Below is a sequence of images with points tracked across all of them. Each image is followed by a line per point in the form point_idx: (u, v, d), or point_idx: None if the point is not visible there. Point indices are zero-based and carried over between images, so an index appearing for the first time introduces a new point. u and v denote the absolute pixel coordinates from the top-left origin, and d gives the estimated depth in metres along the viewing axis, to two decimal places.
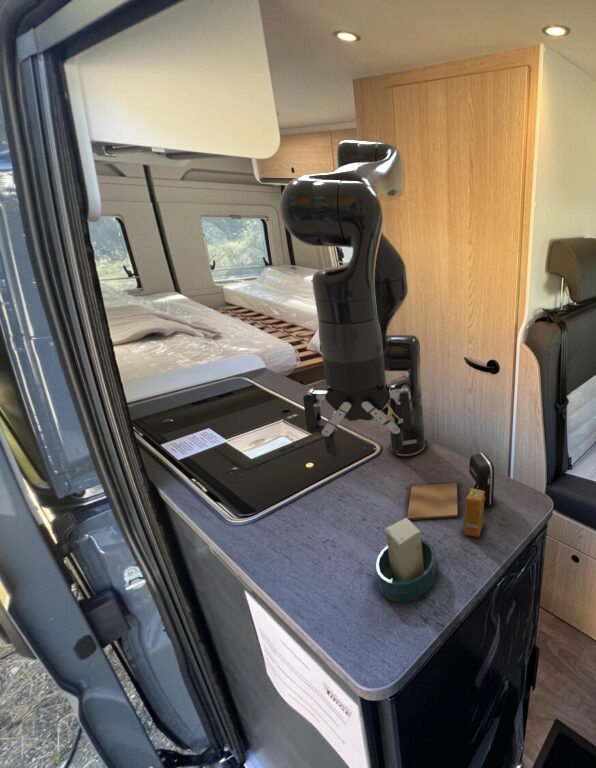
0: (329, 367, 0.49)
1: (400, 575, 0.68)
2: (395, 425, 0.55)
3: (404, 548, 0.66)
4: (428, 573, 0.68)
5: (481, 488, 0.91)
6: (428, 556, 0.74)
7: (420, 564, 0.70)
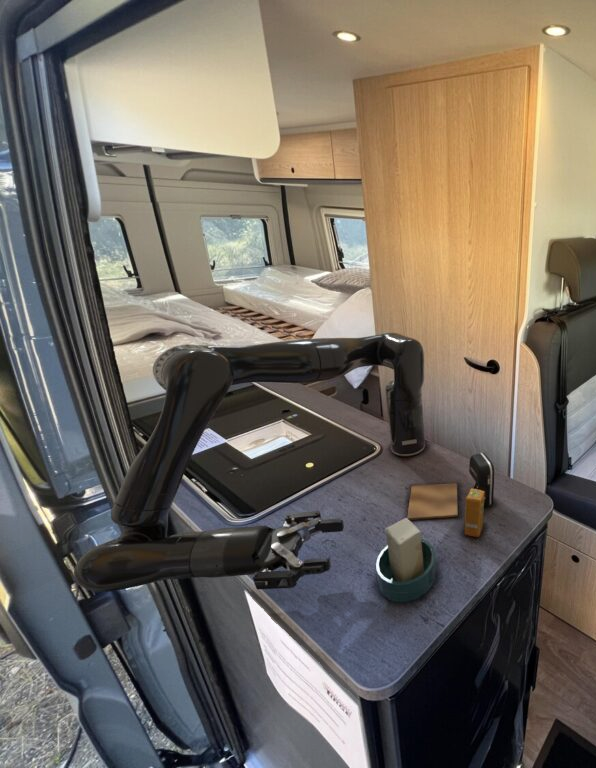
0: None
1: (400, 575, 0.68)
2: None
3: (404, 548, 0.66)
4: (428, 573, 0.68)
5: (481, 488, 0.91)
6: (428, 556, 0.74)
7: (420, 564, 0.70)
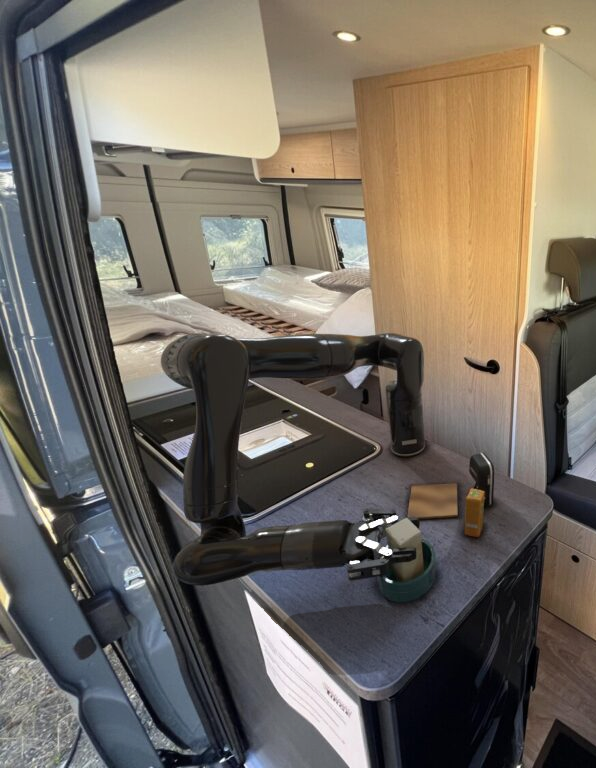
0: None
1: (400, 575, 0.68)
2: None
3: None
4: (428, 573, 0.68)
5: (481, 488, 0.91)
6: (428, 556, 0.74)
7: (420, 564, 0.70)
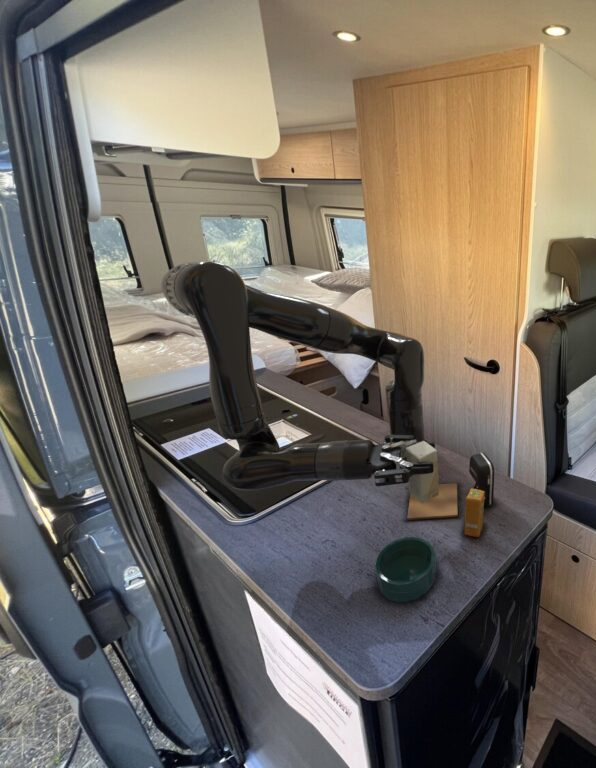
0: None
1: (419, 489, 0.77)
2: None
3: None
4: (428, 573, 0.68)
5: (481, 488, 0.91)
6: (428, 556, 0.74)
7: (436, 482, 0.78)
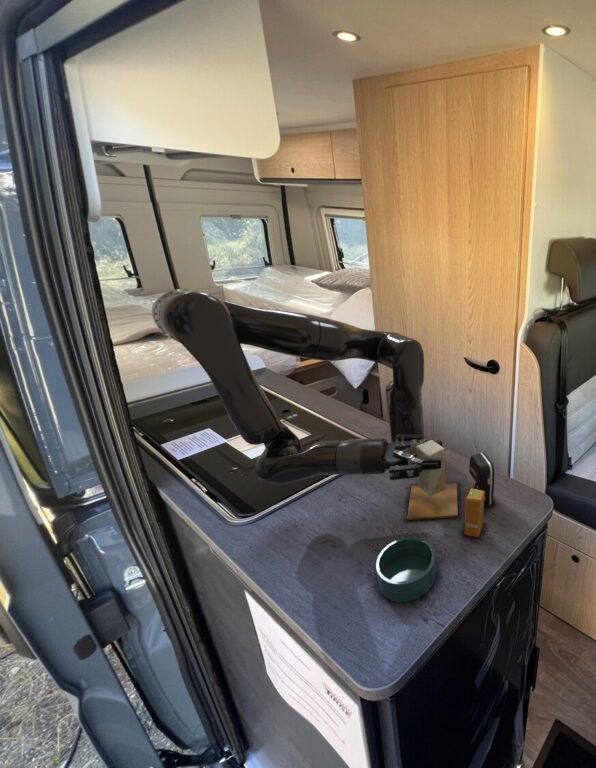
0: None
1: (427, 484, 0.85)
2: None
3: None
4: (428, 573, 0.68)
5: (481, 488, 0.91)
6: (428, 556, 0.74)
7: (443, 477, 0.87)
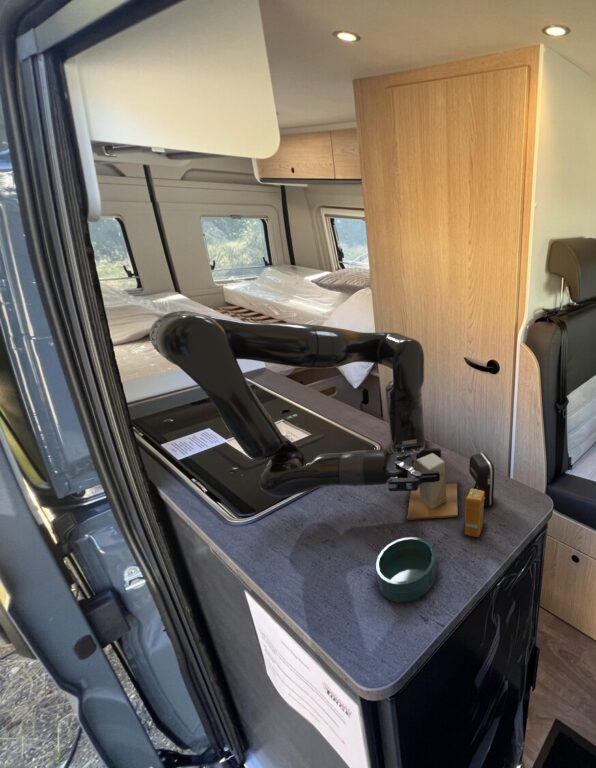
0: None
1: (428, 496, 0.87)
2: None
3: None
4: (428, 573, 0.68)
5: (481, 488, 0.91)
6: (428, 556, 0.74)
7: (443, 489, 0.88)
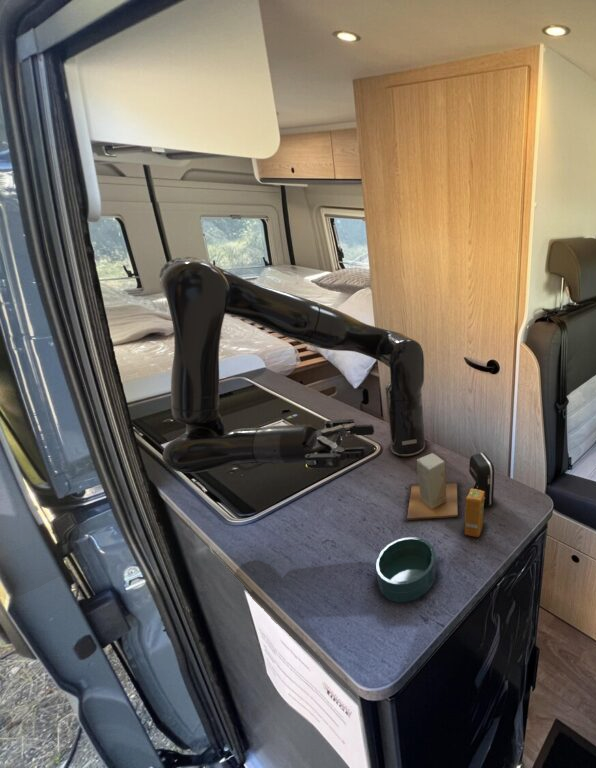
0: None
1: (428, 496, 0.87)
2: None
3: (432, 473, 0.84)
4: (428, 573, 0.68)
5: (481, 488, 0.91)
6: (428, 556, 0.74)
7: (443, 489, 0.88)
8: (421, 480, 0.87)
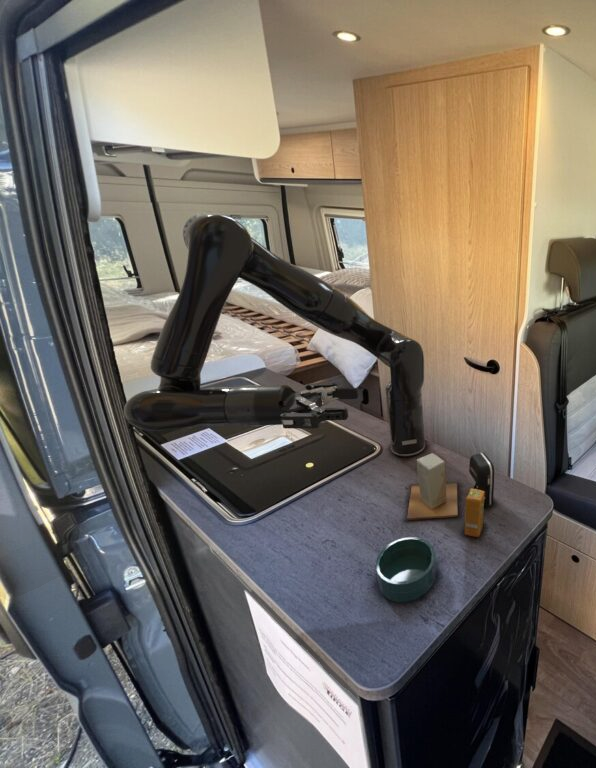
0: None
1: (428, 496, 0.87)
2: None
3: (432, 473, 0.84)
4: (428, 573, 0.68)
5: (481, 488, 0.91)
6: (428, 556, 0.74)
7: (443, 489, 0.88)
8: (421, 480, 0.87)
